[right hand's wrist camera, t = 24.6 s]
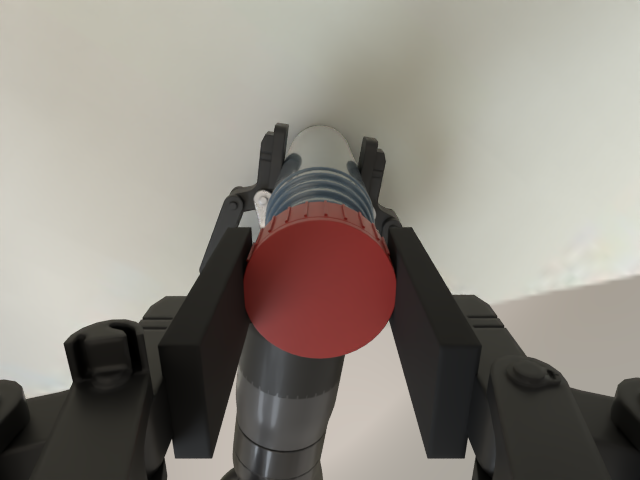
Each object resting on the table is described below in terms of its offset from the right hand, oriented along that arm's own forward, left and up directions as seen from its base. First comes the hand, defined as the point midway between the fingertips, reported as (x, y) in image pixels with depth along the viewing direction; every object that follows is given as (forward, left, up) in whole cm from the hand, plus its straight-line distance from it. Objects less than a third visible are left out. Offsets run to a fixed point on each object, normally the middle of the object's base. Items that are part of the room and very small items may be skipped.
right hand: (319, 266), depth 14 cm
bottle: (0, 0, -20) cm, 20 cm away
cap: (0, 0, +2) cm, 2 cm away
